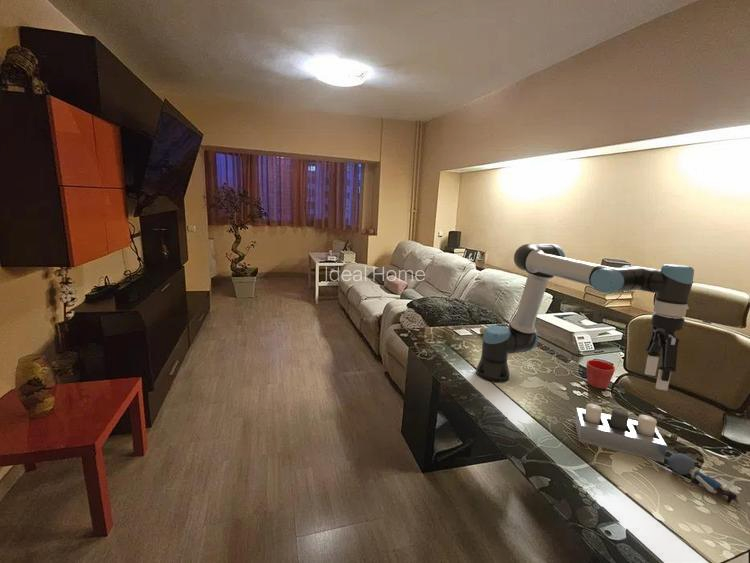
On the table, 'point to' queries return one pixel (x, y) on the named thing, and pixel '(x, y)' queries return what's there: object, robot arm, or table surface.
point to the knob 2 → (646, 426)
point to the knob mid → (619, 419)
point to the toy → (696, 474)
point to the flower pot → (599, 373)
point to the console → (620, 437)
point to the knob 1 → (593, 414)
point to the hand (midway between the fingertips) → (655, 381)
